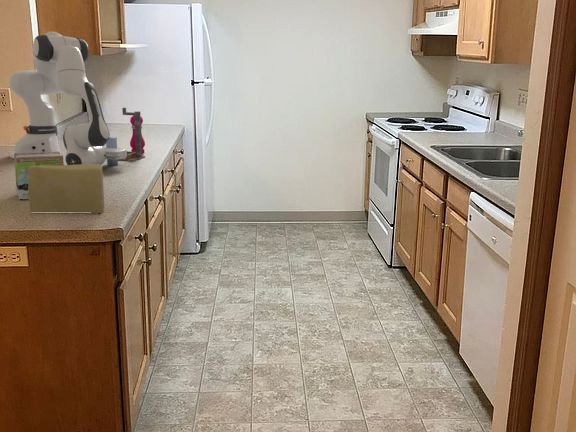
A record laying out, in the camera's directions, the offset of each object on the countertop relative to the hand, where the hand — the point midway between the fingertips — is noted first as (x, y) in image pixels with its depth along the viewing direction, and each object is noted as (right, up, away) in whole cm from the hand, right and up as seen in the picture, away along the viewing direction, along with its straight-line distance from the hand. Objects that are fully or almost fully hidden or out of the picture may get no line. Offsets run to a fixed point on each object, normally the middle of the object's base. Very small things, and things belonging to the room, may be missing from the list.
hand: (112, 150), depth 269 cm
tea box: (-9, -22, -55) cm, 60 cm away
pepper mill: (+4, +2, +31) cm, 31 cm away
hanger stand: (+2, -2, +16) cm, 17 cm away
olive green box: (+7, -28, -75) cm, 80 cm away
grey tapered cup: (0, -6, +1) cm, 7 cm away
